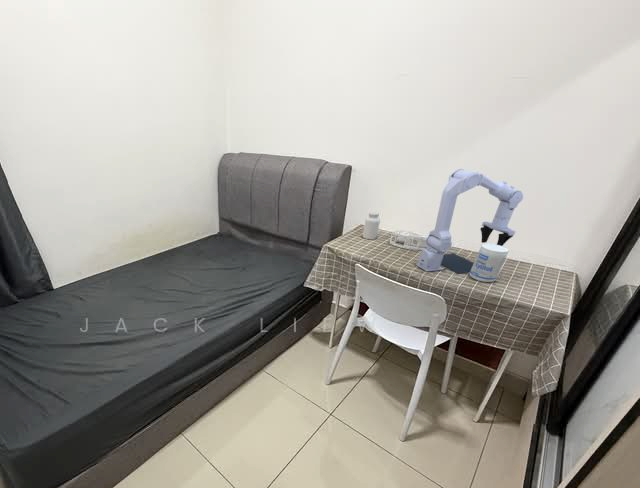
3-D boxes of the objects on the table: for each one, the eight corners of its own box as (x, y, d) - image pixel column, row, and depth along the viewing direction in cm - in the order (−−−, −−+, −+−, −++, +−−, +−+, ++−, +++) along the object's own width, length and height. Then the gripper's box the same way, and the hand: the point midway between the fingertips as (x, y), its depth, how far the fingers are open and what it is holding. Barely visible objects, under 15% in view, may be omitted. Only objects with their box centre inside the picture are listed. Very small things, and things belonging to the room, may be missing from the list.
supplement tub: (467, 278, 134) (479, 248, 127) (470, 271, 140) (482, 241, 133) (494, 285, 128) (508, 253, 121) (496, 277, 135) (509, 246, 127)
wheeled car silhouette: (432, 248, 165) (436, 235, 161) (424, 254, 158) (428, 240, 155) (396, 239, 178) (399, 227, 175) (387, 244, 172) (390, 231, 168)
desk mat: (457, 273, 138) (457, 273, 138) (426, 256, 156) (426, 256, 156) (487, 270, 141) (487, 269, 141) (453, 253, 158) (453, 253, 158)
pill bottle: (363, 239, 179) (368, 214, 172) (361, 234, 186) (365, 210, 179) (377, 240, 178) (383, 215, 171) (374, 235, 185) (379, 211, 177)
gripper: (526, 221, 129) (512, 250, 136) (495, 212, 142) (484, 239, 148) (512, 222, 128) (499, 251, 135) (482, 213, 141) (472, 240, 147)
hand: (490, 245), depth 141 cm, fingers open, 7 cm apart
